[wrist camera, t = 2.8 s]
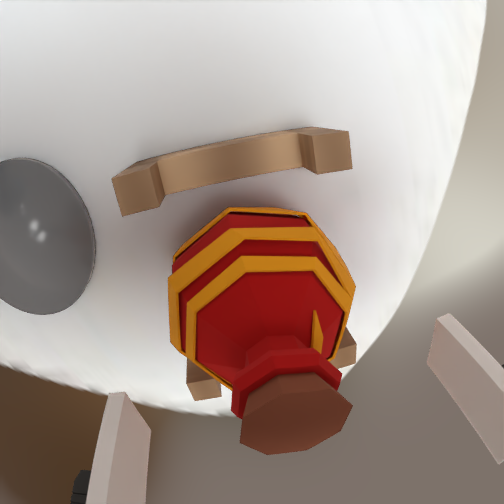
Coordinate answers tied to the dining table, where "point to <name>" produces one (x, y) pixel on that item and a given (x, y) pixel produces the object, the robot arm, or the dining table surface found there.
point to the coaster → (42, 238)
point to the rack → (230, 168)
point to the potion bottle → (266, 322)
